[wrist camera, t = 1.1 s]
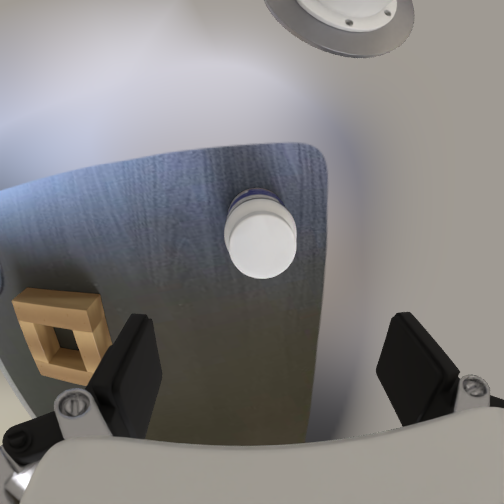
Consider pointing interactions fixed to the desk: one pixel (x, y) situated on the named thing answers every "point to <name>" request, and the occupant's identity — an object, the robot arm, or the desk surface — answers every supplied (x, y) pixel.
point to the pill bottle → (260, 233)
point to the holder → (69, 317)
